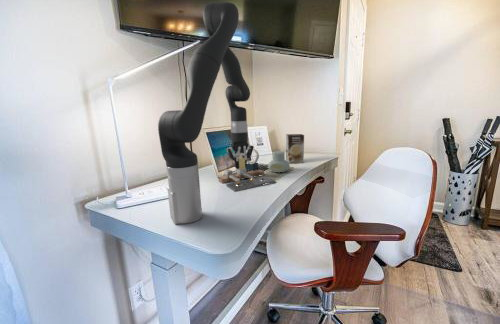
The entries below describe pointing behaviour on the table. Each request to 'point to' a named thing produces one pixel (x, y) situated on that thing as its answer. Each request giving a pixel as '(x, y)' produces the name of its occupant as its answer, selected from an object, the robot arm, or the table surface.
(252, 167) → the watch
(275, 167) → the air freshener
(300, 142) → the coffee box
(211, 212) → the table surface
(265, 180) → the bolt plate
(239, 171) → the sliding leg
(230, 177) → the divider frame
